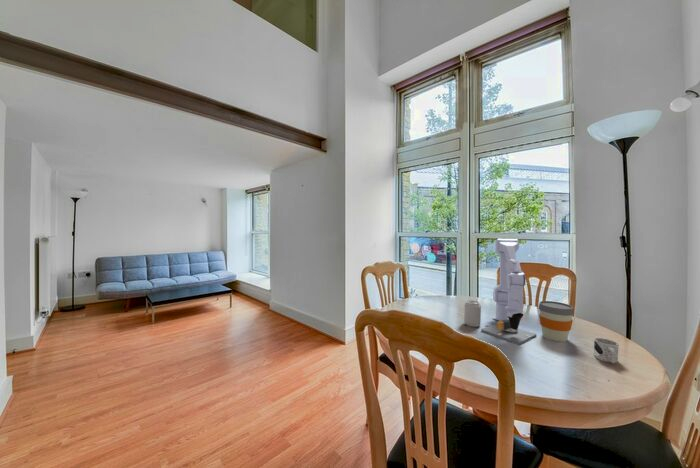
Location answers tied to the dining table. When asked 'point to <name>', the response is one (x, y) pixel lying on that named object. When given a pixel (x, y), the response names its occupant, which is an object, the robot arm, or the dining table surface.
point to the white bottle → (472, 313)
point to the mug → (606, 350)
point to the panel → (509, 334)
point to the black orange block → (505, 326)
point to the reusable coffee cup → (555, 320)
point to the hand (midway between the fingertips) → (514, 328)
